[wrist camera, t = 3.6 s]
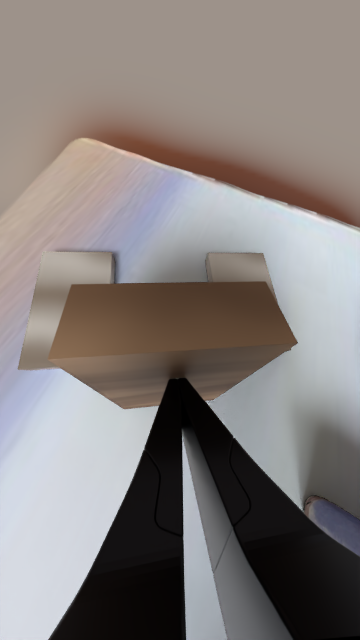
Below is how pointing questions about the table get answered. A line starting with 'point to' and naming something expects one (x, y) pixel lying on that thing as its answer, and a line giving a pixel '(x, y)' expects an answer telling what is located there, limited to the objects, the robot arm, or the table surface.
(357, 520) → the flask
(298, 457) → the table surface
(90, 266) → the floor row
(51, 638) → the robot arm
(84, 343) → the walnut plank
